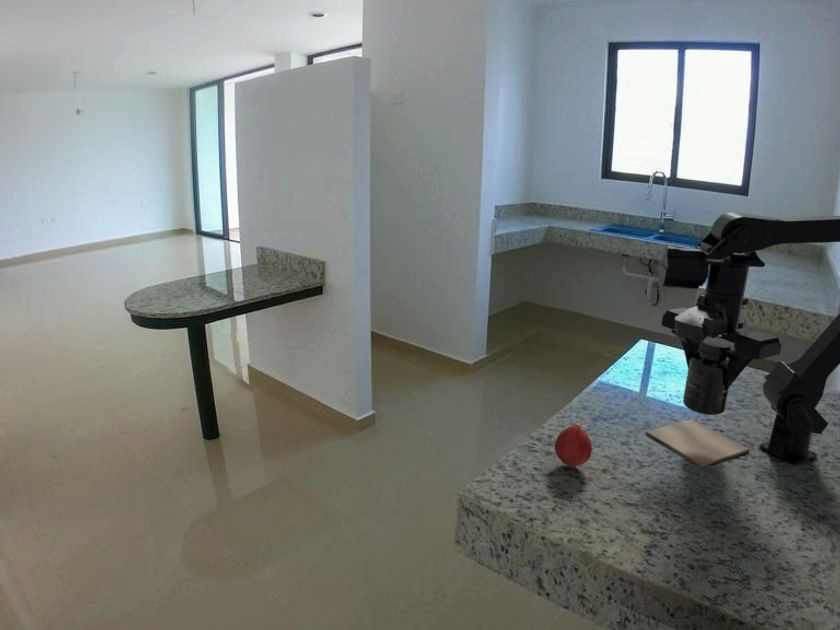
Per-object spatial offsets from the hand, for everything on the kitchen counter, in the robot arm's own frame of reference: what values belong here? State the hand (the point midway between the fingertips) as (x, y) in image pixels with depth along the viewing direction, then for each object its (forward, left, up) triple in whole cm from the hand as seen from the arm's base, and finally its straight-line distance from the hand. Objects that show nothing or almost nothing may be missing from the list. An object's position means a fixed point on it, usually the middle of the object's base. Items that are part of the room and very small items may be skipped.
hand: (708, 378), depth 99 cm
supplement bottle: (0, 0, -6) cm, 6 cm away
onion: (+26, -3, -13) cm, 29 cm away
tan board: (0, 0, -13) cm, 13 cm away
